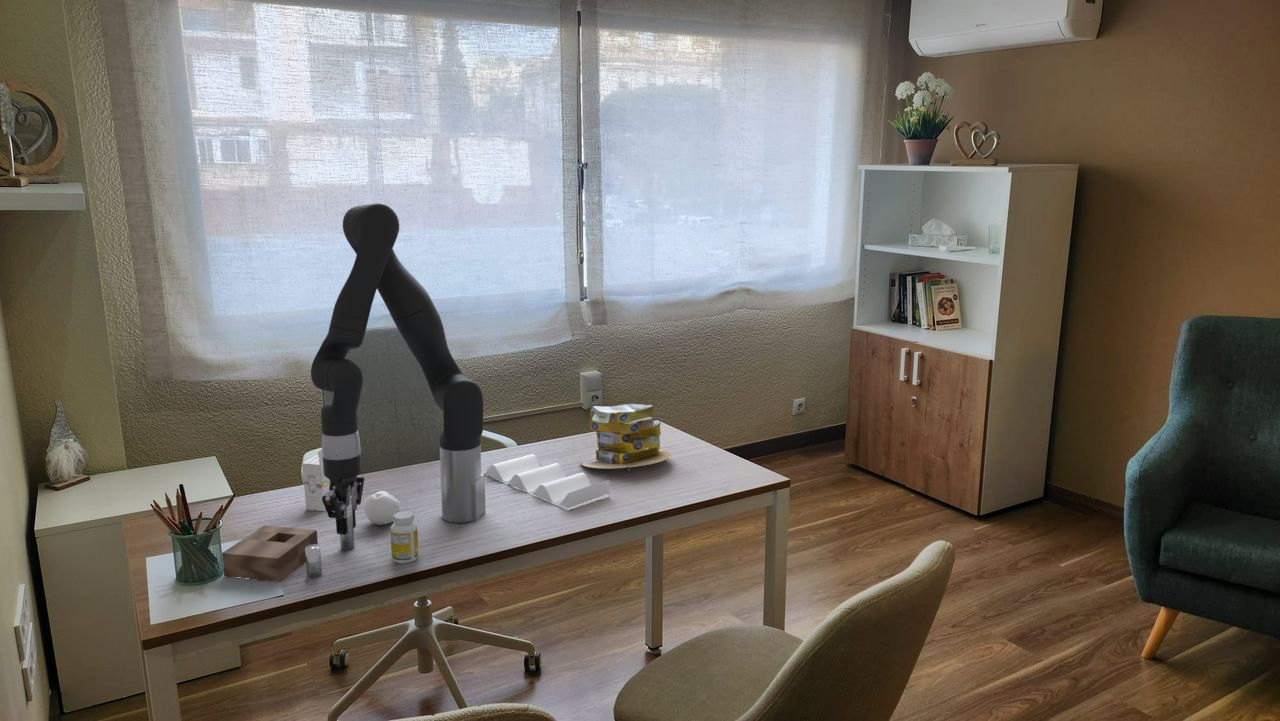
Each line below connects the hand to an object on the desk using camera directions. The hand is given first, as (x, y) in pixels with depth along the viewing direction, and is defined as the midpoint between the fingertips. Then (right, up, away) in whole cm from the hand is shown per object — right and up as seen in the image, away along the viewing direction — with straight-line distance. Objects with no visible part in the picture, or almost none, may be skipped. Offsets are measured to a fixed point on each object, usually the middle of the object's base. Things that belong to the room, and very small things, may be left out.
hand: (346, 530), depth 184 cm
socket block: (-13, -6, -7) cm, 15 cm away
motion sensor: (+3, -1, +14) cm, 15 cm away
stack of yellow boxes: (+58, +7, +57) cm, 81 cm away
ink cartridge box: (-14, +1, +25) cm, 29 cm away
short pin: (-2, -7, -12) cm, 14 cm away
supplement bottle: (+13, -5, -4) cm, 15 cm away
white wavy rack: (+37, +3, +40) cm, 55 cm away
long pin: (0, -4, +1) cm, 4 cm away
